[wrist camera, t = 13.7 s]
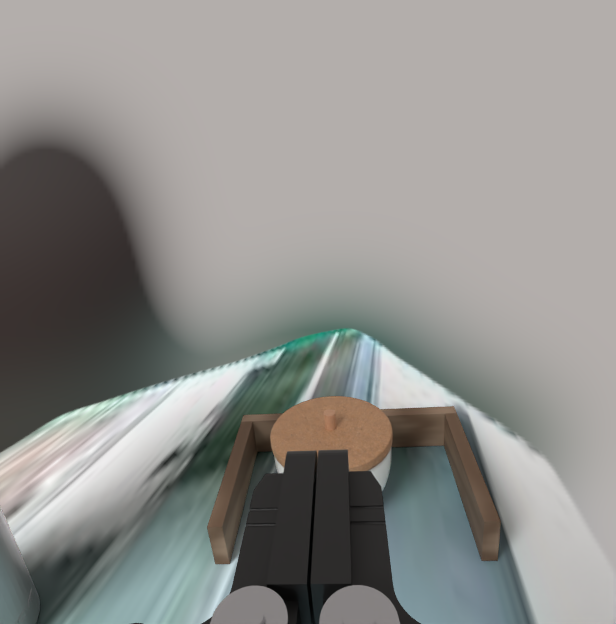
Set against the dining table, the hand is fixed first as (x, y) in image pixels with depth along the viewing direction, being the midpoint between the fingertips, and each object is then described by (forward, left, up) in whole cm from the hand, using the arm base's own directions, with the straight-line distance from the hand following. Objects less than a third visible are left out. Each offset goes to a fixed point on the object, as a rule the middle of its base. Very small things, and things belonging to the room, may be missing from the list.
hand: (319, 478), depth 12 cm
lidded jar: (-1, +25, -25) cm, 35 cm away
